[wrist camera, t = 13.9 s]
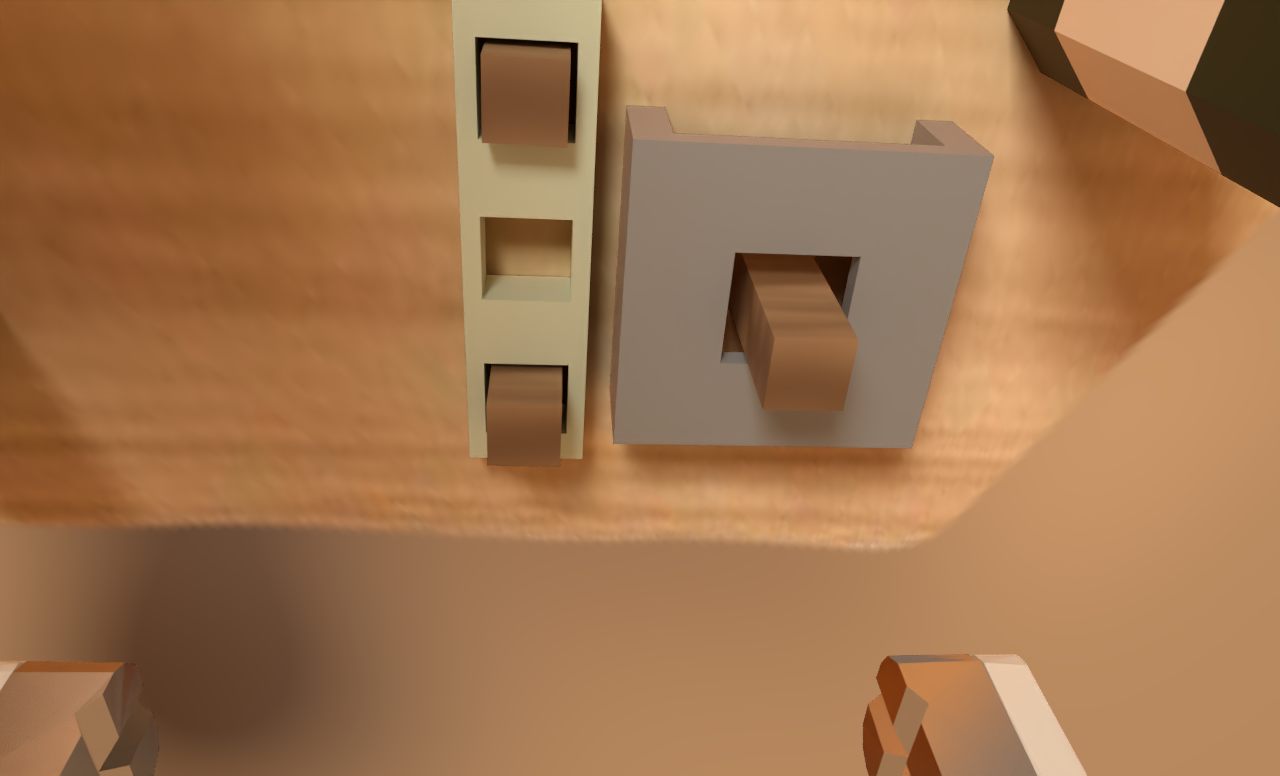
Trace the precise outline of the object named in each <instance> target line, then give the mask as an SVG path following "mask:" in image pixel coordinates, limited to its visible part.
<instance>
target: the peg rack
mask: <svg viewBox="0 0 1280 776" xmlns="http://www.w3.org/2000/svg"><path fill="white" fill-rule="evenodd" d="M451 7H452V32H453V57H454V81H455V106H456V131H457V156H458V181H459V205H460V230H461V255H462V280H463V305H464V329H465V354H466V379H467V404H468V429H469V454H470V458H487V413H486V404H487V396H488V389H489V364H531V365H568V374H567V404H562V423H561V452H560V459H582V456H583V433H584V409H585V386H586V362H587V339H588V315H589V292H590V268H591V245H592V222H593V198H594V175H595V151H596V128H597V104H598V81H599V57H600V34H601V10H602V0H451ZM481 37H487V38H505V39H523V40H540V41H558V42H576V43H577V72H576V106H575V125H570V124H568V145H567V148H561V147H544V146H527V145H509V144H492V143H482V120H481ZM485 217H504V218H530V219H556V220H572V240H571V274H570V277H548V276H517V275H486V238H485Z"/></svg>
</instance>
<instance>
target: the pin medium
mask: <svg viewBox="0 0 1280 776" xmlns="http://www.w3.org/2000/svg"><path fill="white" fill-rule="evenodd" d="M486 413H487V464H488V465H496V466H557V467H560V452H561V423H562V365H531V364H492V366H491V373H490V381H489V389H488V396H487V404H486Z"/></svg>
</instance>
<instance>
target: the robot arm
mask: <svg viewBox="0 0 1280 776" xmlns="http://www.w3.org/2000/svg"><path fill="white" fill-rule="evenodd" d="M876 678H877V681H878V684H879V687H880V690H881V693H882V694H880V695H879V696H878V697H876V698H875V699H874V700H873V701H871V702H870V703H869V704H868V707H867V710H866V714H865V718H864V722H863V751H864V756H865V762H866V768H867V771H868V774H869V776H1087V774H1086V772H1085V770H1084V769H1083V767H1082V765H1081V763H1080V761H1079V759H1078V757H1077V756H1076V754H1075V752H1074V750H1073V748H1072V747H1071V745H1070V743H1069V741H1068V739H1067V737H1066V736H1065V734H1064V732H1063V730H1062V728H1061V726H1060V725H1059V723H1058V721H1057V719H1056V717H1055V715H1054V714H1053V712H1052V710H1051V708H1050V706H1049V704H1048V703H1047V701H1046V699H1045V697H1044V695H1043V694H1042V692H1041V690H1040V688H1039V686H1038V684H1037V683H1036V681H1035V679H1034V677H1033V675H1032V673H1031V672H1030V670H1029V668H1028V666H1027V664H1026V662H1025V661H1024V660H1022V659H1021V658H1020V657H1019V656H1018V655H1016V654H1015V655H969V654H953V655H904V656H903V655H902V656H887V657H886V658H885V659H884V660H883V662H882V663H881V665H880V668H879V671H878V674H877V677H876ZM143 685H144V684H143V681H142V679H141V676H140V674H139V671H138V669H137V666H136V664H134V663H118V662H62V661H61V662H60V661H0V776H154V772H155V767H156V762H157V757H158V752H159V737H158V726H157V723H156V720H155V717H154V714H153V712H152V711H150V710H149V709H147V708H146V707H145V706H143V705H142V704H140V703H139V702H138V701H136V700H137V698H138V696H139V694H140V692H141V689H142V688H143Z"/></svg>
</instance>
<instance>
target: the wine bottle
mask: <svg viewBox="0 0 1280 776" xmlns="http://www.w3.org/2000/svg"><path fill="white" fill-rule="evenodd" d="M1008 11H1009V13H1010V15H1011V16H1012V18H1013V20H1014V22H1015V24H1016V26H1017V28H1018V30H1019V32H1020V34H1021V36H1022V38H1023V39H1024V41H1025V43H1026V45H1027V47H1028V49H1029V51H1030V53H1031V55H1032V57H1033V59H1034V60H1035V62H1036V64H1037V66H1038V68H1039V70H1040V72H1041V73H1043V74H1045V75H1047V76H1048V77H1050V78H1052V79H1054V80H1055V81H1057V82H1059V83H1061V84H1062V85H1064V86H1066V87H1068V88H1070V89H1071V90H1073V91H1075V92H1077V93H1078V94H1080V95H1082V96H1084V97H1085V98H1087V99H1089V100H1091V101H1092V102H1094V103H1096V104H1098V105H1100V106H1101V107H1103V108H1105V109H1107V110H1108V111H1110V112H1112V113H1114V114H1115V115H1117V116H1119V117H1121V118H1122V119H1124V120H1126V121H1128V122H1130V123H1131V124H1133V125H1135V126H1137V127H1138V128H1140V129H1142V130H1144V131H1145V132H1147V133H1149V134H1151V135H1153V136H1154V137H1156V138H1158V139H1160V140H1161V141H1163V142H1165V143H1167V144H1168V145H1170V146H1172V147H1174V148H1175V149H1177V150H1179V151H1181V152H1183V153H1184V154H1186V155H1188V156H1190V157H1191V158H1193V159H1195V160H1197V161H1198V162H1200V163H1202V164H1204V165H1206V166H1207V167H1209V168H1211V169H1213V170H1214V171H1216V172H1218V173H1220V174H1221V175H1223V176H1225V177H1227V178H1228V179H1230V180H1232V181H1234V182H1236V183H1237V184H1239V185H1241V186H1243V187H1244V188H1246V189H1248V190H1250V191H1251V192H1253V193H1255V194H1257V195H1258V196H1260V197H1262V198H1264V199H1266V200H1267V201H1269V202H1271V203H1273V204H1274V205H1276V206H1278V207H1280V0H1010V3H1009V6H1008Z"/></svg>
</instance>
